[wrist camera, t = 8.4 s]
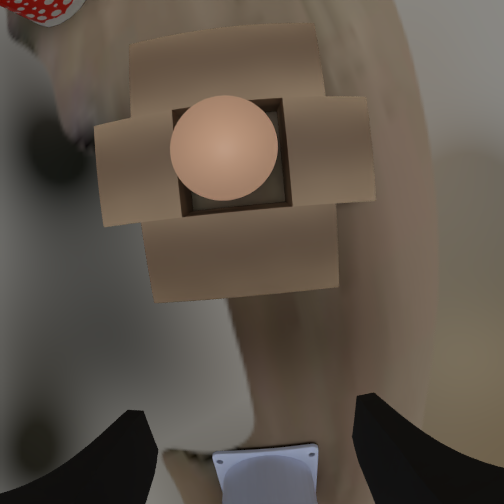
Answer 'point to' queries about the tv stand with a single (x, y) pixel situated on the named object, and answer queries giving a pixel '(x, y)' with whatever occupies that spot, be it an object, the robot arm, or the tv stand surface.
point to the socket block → (241, 217)
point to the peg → (223, 147)
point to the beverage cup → (44, 10)
